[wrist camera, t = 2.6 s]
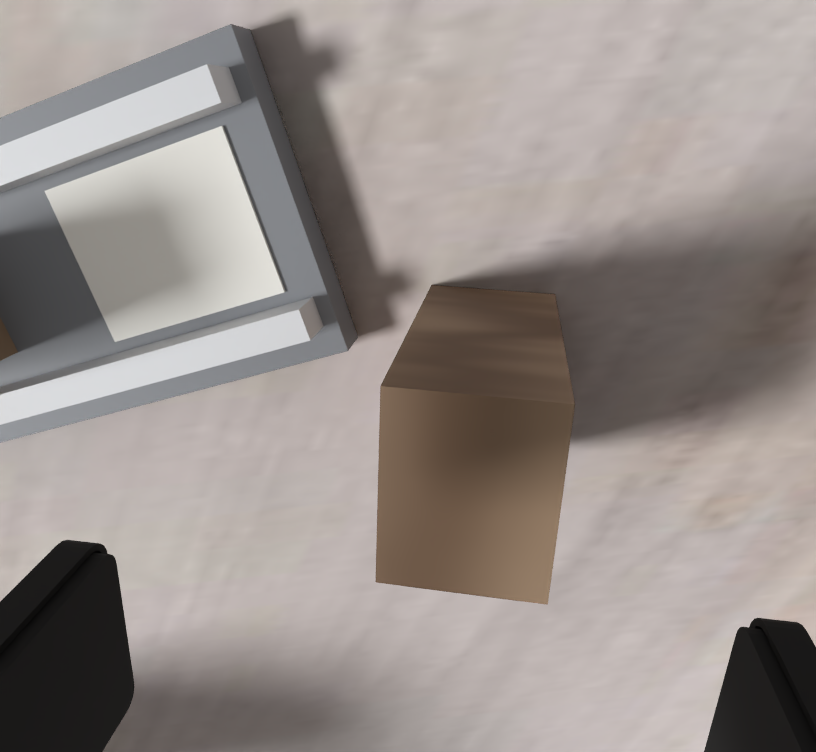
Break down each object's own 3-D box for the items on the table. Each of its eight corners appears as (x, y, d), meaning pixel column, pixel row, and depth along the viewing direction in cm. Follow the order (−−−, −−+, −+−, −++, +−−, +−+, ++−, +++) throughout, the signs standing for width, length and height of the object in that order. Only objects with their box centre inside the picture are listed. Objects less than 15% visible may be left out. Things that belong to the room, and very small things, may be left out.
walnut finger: (554, 294, 22) (575, 404, 14) (535, 454, 24) (543, 632, 16) (431, 284, 23) (380, 386, 15) (423, 442, 25) (375, 609, 17)
